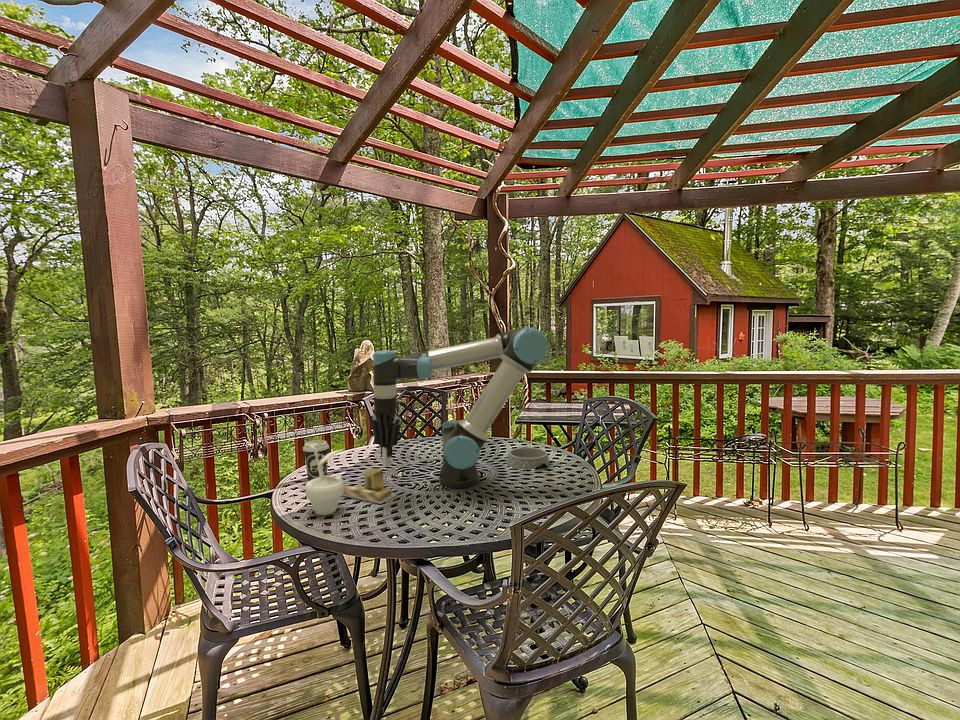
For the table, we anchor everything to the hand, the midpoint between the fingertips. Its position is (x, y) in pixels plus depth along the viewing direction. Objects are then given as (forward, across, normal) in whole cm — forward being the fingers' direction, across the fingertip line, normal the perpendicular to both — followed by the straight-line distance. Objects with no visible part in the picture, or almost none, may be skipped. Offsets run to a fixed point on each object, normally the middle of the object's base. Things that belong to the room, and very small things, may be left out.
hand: (386, 465), depth 164 cm
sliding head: (+11, +6, 0) cm, 12 cm away
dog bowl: (+12, -28, -56) cm, 64 cm away
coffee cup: (+12, +36, -2) cm, 38 cm away
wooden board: (+12, +8, +1) cm, 14 cm away
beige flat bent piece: (+11, +8, +1) cm, 14 cm away
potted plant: (+12, +11, +17) cm, 23 cm away
